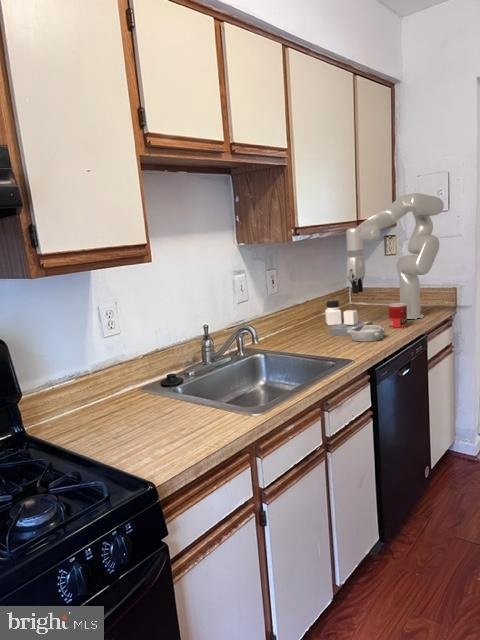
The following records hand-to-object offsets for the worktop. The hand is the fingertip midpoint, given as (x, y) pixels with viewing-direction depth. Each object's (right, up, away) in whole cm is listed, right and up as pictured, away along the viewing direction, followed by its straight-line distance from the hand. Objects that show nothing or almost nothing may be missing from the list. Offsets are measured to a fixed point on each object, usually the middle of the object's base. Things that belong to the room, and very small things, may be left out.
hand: (357, 292), depth 226 cm
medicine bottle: (-8, -15, +18) cm, 25 cm away
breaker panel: (-4, -18, -3) cm, 19 cm away
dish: (-1, -22, -20) cm, 30 cm away
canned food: (+18, -17, -4) cm, 25 cm away
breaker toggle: (-4, -15, -3) cm, 16 cm away
